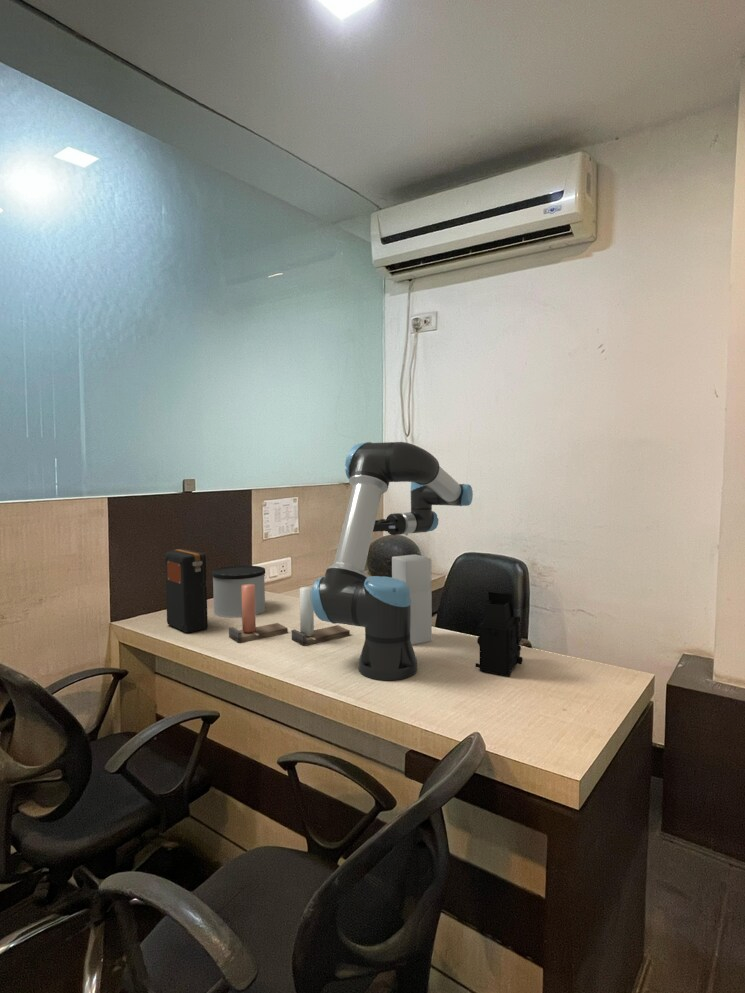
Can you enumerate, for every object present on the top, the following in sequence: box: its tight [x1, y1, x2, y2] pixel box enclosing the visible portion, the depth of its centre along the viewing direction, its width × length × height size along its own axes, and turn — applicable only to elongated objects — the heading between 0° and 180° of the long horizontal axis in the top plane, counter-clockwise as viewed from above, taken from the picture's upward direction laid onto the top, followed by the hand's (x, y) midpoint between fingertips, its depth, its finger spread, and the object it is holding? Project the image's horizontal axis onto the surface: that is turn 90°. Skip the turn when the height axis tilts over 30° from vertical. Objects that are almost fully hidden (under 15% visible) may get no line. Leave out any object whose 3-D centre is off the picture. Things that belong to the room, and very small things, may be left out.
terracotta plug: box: [241, 584, 257, 632], centre depth 170 cm, size 4×4×14 cm
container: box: [211, 565, 266, 619], centre depth 201 cm, size 19×19×15 cm
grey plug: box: [299, 586, 315, 636], centre depth 166 cm, size 4×4×14 cm
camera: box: [474, 589, 524, 677], centre depth 143 cm, size 10×14×20 cm
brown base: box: [228, 622, 289, 644], centre depth 172 cm, size 16×9×3 cm, turn 126°
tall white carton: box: [391, 553, 433, 646], centre depth 166 cm, size 9×9×25 cm
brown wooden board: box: [290, 624, 351, 647], centre depth 169 cm, size 16×9×3 cm, turn 126°
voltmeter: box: [164, 548, 209, 634], centre depth 180 cm, size 16×9×25 cm, turn 45°
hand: (343, 528), depth 179 cm, fingers closed
